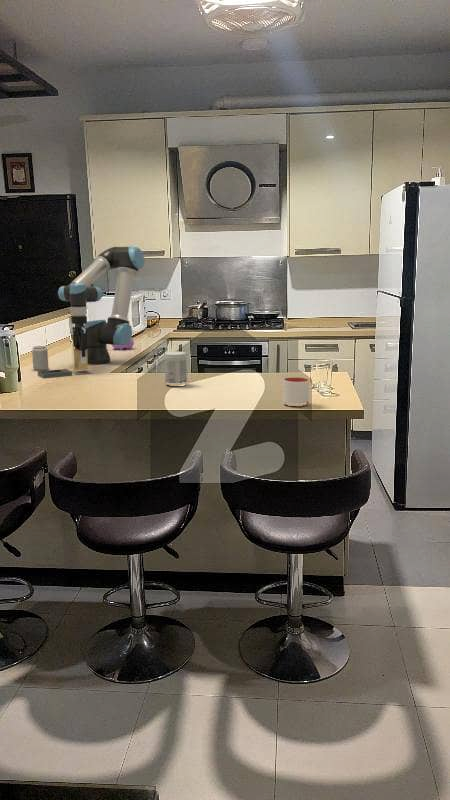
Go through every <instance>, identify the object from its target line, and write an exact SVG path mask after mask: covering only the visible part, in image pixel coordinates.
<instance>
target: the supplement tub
mask: <svg viewBox="0 0 450 800" xmlns="http://www.w3.org/2000/svg"><path fill="white" fill-rule="evenodd" d="M187 371H188V369H187V354H186V352H184V351H168V352H165V353H164V374H165V376H164V379H165V383H166V382H169V383H182V382H186V381H187V382H188V380H187V379H188V378H187V377H188V376H187Z"/></svg>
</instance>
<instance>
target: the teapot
mask: <svg viewBox="0 0 450 800" xmlns="http://www.w3.org/2000/svg"><path fill="white" fill-rule="evenodd" d="M134 344H135V342H134V339H133V336H132V337H131V339H130V341H129V342H128V343H127V344H125V345H111V346H112V348H114V350H118V351H123V350H122V349H124V348H126V349H130V350H131V349H132V348H133V346H134ZM118 348H119V349H118Z"/></svg>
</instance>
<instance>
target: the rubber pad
mask: <svg viewBox="0 0 450 800" xmlns="http://www.w3.org/2000/svg"><path fill="white" fill-rule="evenodd" d="M73 374H74V375H76V376H80V375H89V374H93V372H91V371H89V370H87V369H86V370H75V371H72V375H73Z"/></svg>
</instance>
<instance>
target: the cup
mask: <svg viewBox="0 0 450 800" xmlns="http://www.w3.org/2000/svg"><path fill="white" fill-rule="evenodd" d="M309 397H310V380H309V379H308V378H305V377H296V376H295V377H285V378H283V380H282V402H283V401H285V402H289V403H304V402H307V401H308V400H309ZM308 402H309V401H308Z"/></svg>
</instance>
